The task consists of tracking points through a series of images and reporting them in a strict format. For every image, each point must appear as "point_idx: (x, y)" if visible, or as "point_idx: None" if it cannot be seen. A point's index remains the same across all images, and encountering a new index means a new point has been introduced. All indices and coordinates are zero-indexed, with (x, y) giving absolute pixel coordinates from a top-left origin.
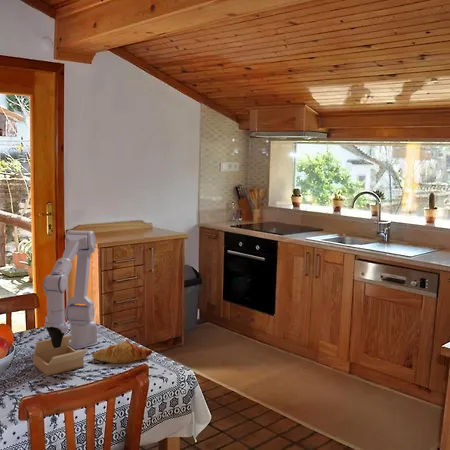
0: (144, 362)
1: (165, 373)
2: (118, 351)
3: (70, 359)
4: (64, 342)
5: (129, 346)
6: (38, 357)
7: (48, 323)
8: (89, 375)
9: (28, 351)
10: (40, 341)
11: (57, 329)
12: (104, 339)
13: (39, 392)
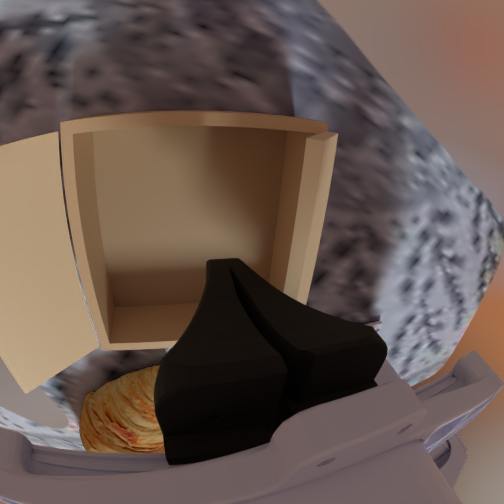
0: (77, 428)
1: (3, 419)
2: (92, 433)
3: (60, 283)
4: None
5: None
6: (238, 119)
7: (323, 474)
8: None
9: (432, 184)
10: (309, 178)
11: (166, 443)
12: None
13: None
